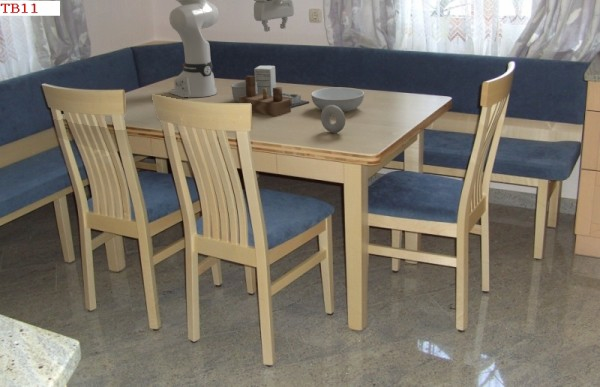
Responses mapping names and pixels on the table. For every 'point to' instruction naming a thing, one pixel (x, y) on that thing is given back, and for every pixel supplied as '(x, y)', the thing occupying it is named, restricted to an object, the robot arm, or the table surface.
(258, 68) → the supplement box
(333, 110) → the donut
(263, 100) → the wooden peg stand
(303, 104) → the rubber mat
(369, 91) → the table surface
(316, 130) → the table surface
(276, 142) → the table surface
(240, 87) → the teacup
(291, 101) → the lever cap
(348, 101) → the serving bowl
